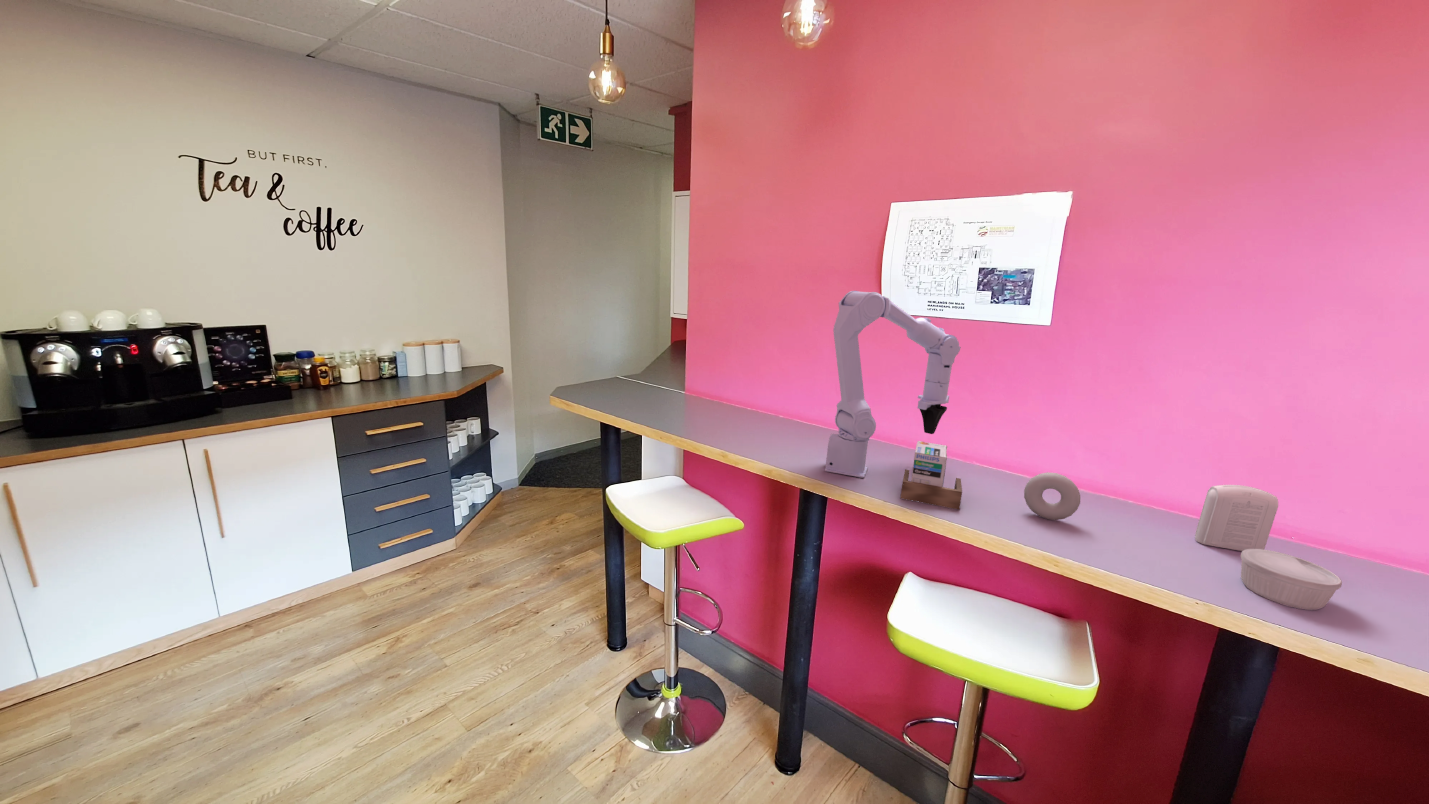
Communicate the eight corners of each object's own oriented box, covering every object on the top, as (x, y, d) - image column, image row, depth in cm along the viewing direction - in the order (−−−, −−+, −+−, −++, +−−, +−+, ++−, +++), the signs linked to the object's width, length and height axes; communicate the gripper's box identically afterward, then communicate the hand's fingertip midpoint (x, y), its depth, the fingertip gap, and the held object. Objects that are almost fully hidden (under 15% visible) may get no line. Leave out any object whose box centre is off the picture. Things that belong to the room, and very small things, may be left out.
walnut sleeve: (900, 498, 119) (902, 481, 118) (902, 485, 127) (905, 469, 126) (959, 509, 115) (962, 492, 114) (958, 495, 123) (960, 478, 122)
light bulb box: (940, 504, 117) (948, 457, 115) (907, 498, 119) (914, 452, 117) (941, 488, 127) (948, 444, 124) (911, 483, 129) (917, 439, 127)
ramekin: (1353, 615, 83) (1364, 584, 82) (1288, 615, 82) (1298, 584, 81) (1274, 576, 94) (1283, 548, 93) (1215, 575, 93) (1223, 547, 92)
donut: (1075, 522, 111) (1085, 477, 109) (1075, 528, 108) (1085, 481, 106) (1020, 509, 117) (1029, 465, 115) (1019, 514, 114) (1027, 469, 112)
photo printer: (1253, 546, 105) (1271, 487, 102) (1267, 556, 101) (1287, 495, 98) (1189, 536, 108) (1205, 478, 105) (1201, 546, 104) (1218, 486, 101)
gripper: (933, 376, 144) (925, 425, 147) (909, 381, 134) (901, 433, 137) (960, 380, 139) (952, 431, 142) (937, 386, 129) (929, 440, 132)
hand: (929, 432), depth 139 cm, fingers closed
